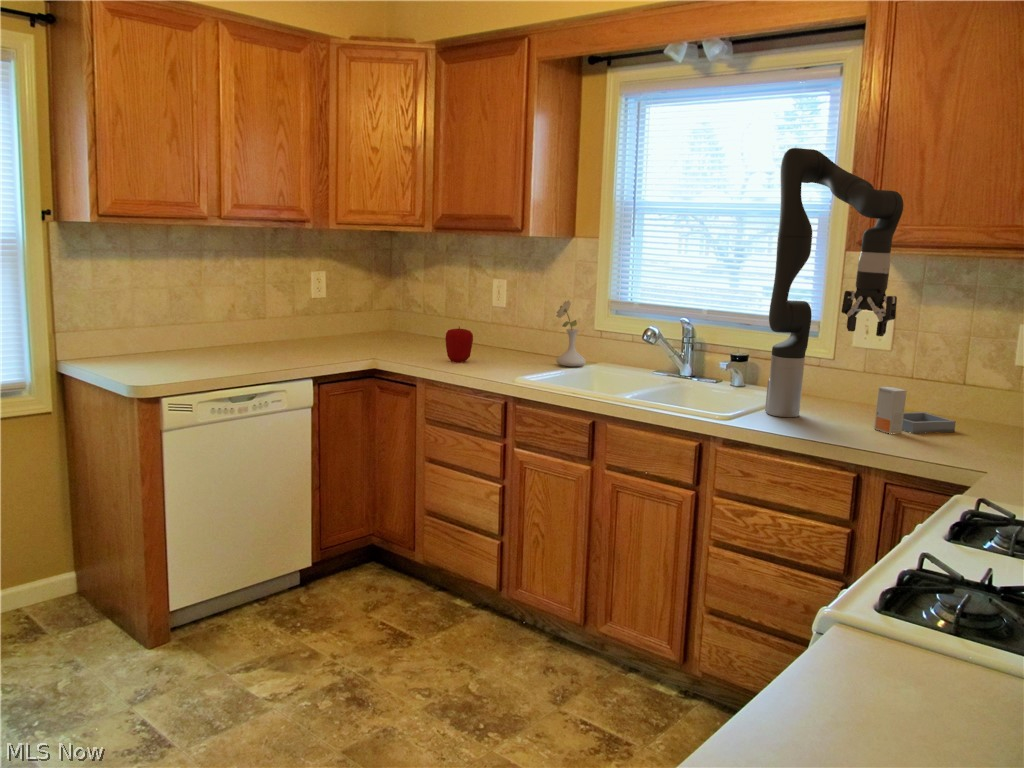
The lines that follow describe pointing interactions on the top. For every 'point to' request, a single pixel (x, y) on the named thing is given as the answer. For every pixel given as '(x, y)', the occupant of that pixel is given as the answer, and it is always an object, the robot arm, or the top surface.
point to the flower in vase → (571, 354)
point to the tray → (926, 423)
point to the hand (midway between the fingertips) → (865, 333)
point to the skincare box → (890, 410)
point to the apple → (458, 344)
